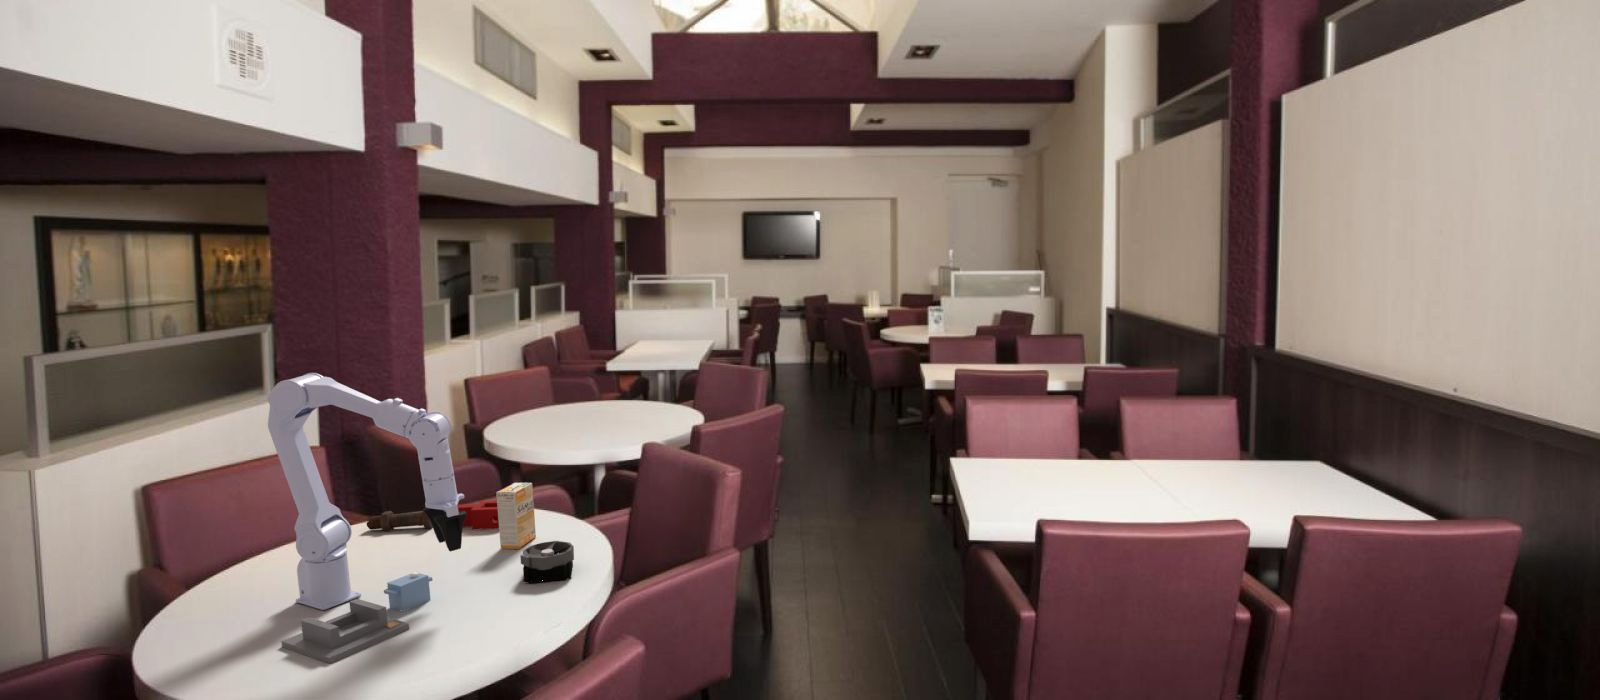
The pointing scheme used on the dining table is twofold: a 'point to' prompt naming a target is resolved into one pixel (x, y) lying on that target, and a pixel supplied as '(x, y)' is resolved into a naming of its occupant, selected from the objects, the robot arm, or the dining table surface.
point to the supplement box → (516, 515)
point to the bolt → (398, 521)
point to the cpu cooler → (547, 561)
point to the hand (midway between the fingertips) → (449, 545)
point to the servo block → (408, 591)
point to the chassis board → (345, 632)
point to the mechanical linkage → (481, 515)
